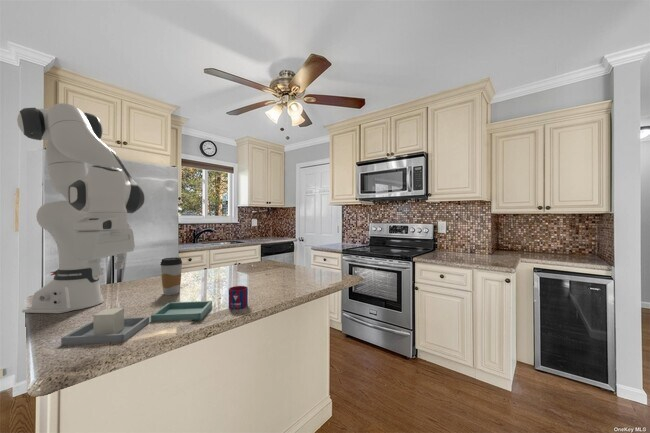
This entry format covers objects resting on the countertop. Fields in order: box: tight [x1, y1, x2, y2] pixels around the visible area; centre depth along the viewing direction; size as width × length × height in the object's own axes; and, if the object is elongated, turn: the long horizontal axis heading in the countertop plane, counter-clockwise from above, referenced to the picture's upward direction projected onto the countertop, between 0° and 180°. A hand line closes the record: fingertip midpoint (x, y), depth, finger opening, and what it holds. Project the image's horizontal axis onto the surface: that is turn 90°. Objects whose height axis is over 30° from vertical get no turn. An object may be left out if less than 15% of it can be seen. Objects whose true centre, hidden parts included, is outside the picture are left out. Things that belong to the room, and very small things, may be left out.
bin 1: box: [60, 316, 150, 346], centre depth 78 cm, size 15×13×2 cm
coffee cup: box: [160, 256, 183, 296], centre depth 120 cm, size 8×8×15 cm
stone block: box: [92, 307, 125, 335], centre depth 78 cm, size 5×5×6 cm
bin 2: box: [150, 300, 213, 322], centre depth 94 cm, size 15×13×2 cm
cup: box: [228, 285, 249, 310], centre depth 104 cm, size 7×10×7 cm
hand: (109, 271), depth 78 cm, fingers open, 8 cm apart
